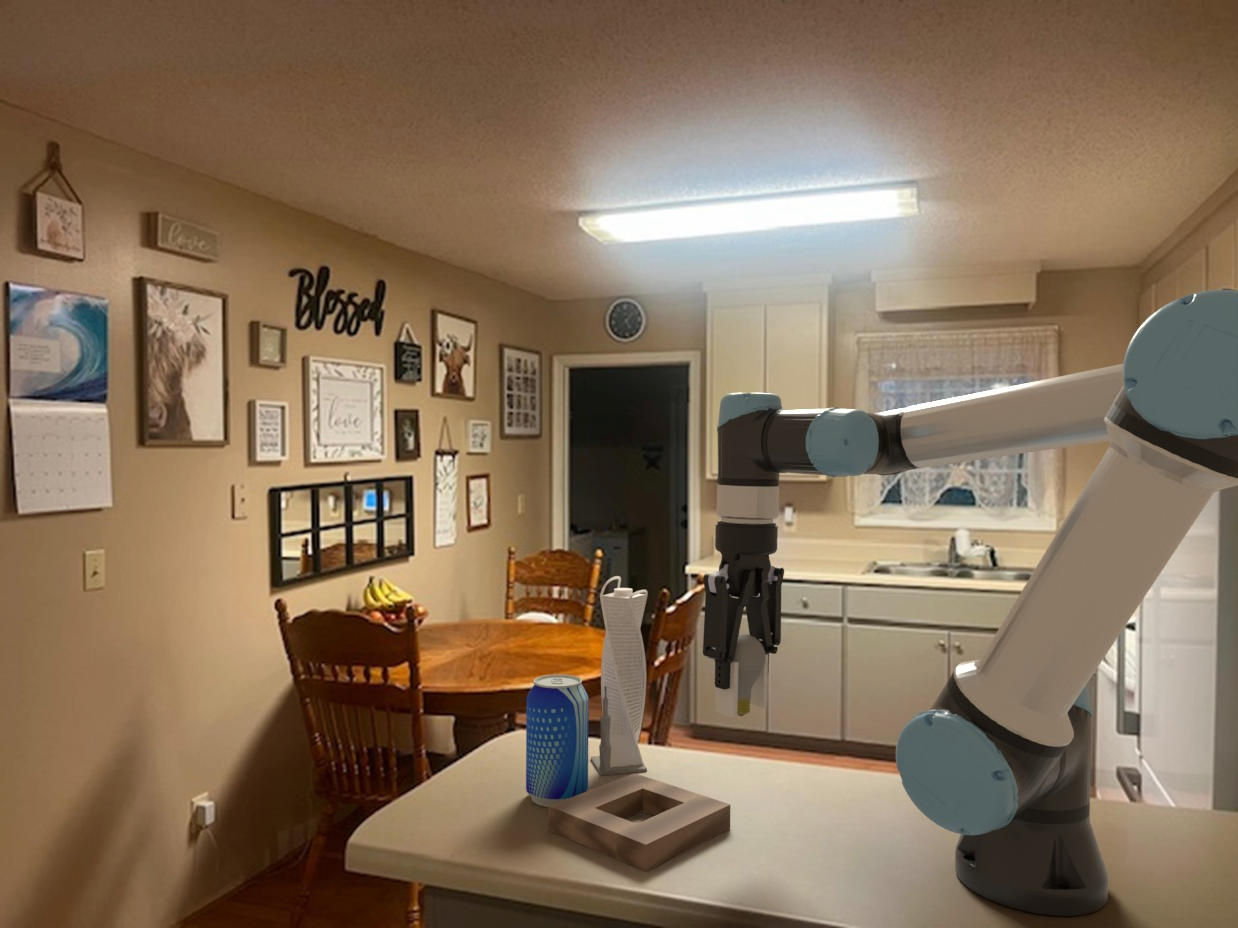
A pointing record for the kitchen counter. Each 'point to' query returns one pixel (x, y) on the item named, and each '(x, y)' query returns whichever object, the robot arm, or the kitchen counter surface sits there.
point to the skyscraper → (622, 681)
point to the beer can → (556, 739)
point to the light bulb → (747, 669)
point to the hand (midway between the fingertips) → (741, 708)
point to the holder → (648, 842)
